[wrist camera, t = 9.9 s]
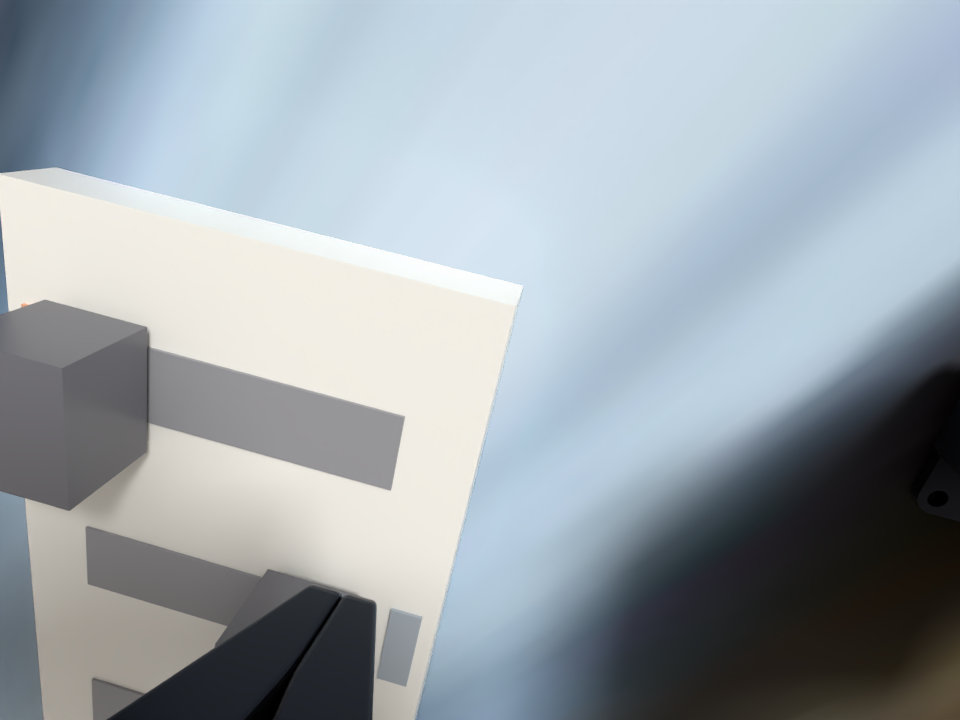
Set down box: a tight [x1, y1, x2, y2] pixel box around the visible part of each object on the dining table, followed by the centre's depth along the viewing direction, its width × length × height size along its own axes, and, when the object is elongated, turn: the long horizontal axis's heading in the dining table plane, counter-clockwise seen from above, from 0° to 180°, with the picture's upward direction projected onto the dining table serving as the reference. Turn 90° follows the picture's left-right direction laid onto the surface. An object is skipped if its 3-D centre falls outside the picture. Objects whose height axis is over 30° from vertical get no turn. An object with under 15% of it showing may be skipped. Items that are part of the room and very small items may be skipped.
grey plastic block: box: [0, 300, 147, 511], centre depth 17 cm, size 3×4×3 cm
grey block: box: [215, 569, 361, 647], centre depth 19 cm, size 3×4×3 cm
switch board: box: [0, 168, 524, 720], centre depth 22 cm, size 14×24×2 cm, turn 168°
